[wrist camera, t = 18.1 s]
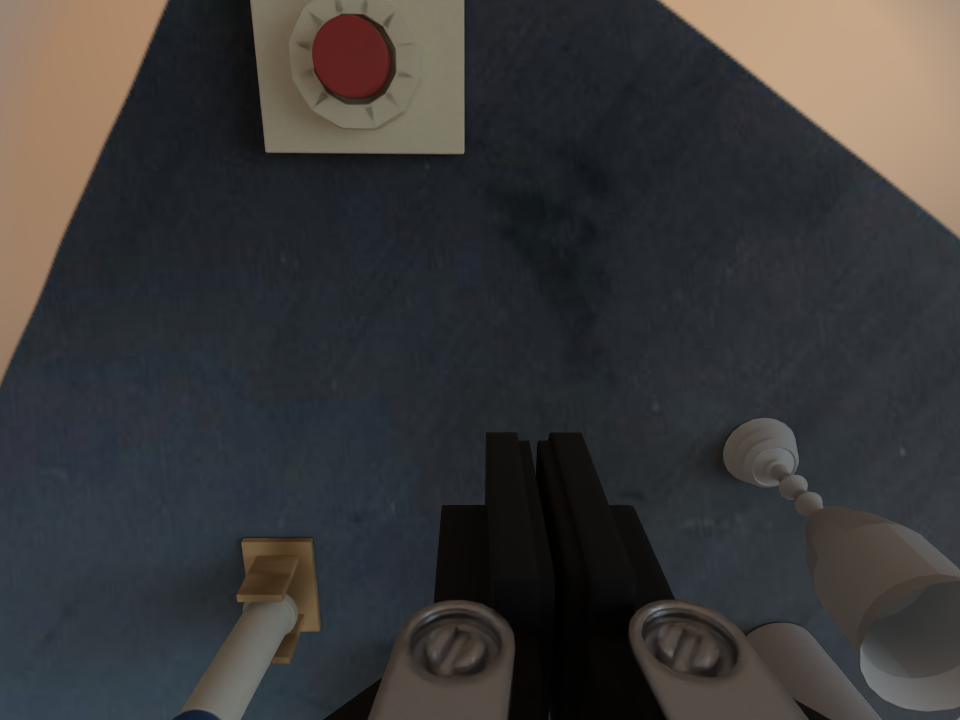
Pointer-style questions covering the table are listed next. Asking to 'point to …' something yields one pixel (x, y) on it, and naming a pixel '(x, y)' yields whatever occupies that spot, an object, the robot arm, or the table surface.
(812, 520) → the chalice
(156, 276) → the table surface
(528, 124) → the table surface
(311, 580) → the rack
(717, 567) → the table surface
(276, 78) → the beige button base
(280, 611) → the blue tipped lever
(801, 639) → the coffee cup
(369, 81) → the timer button
